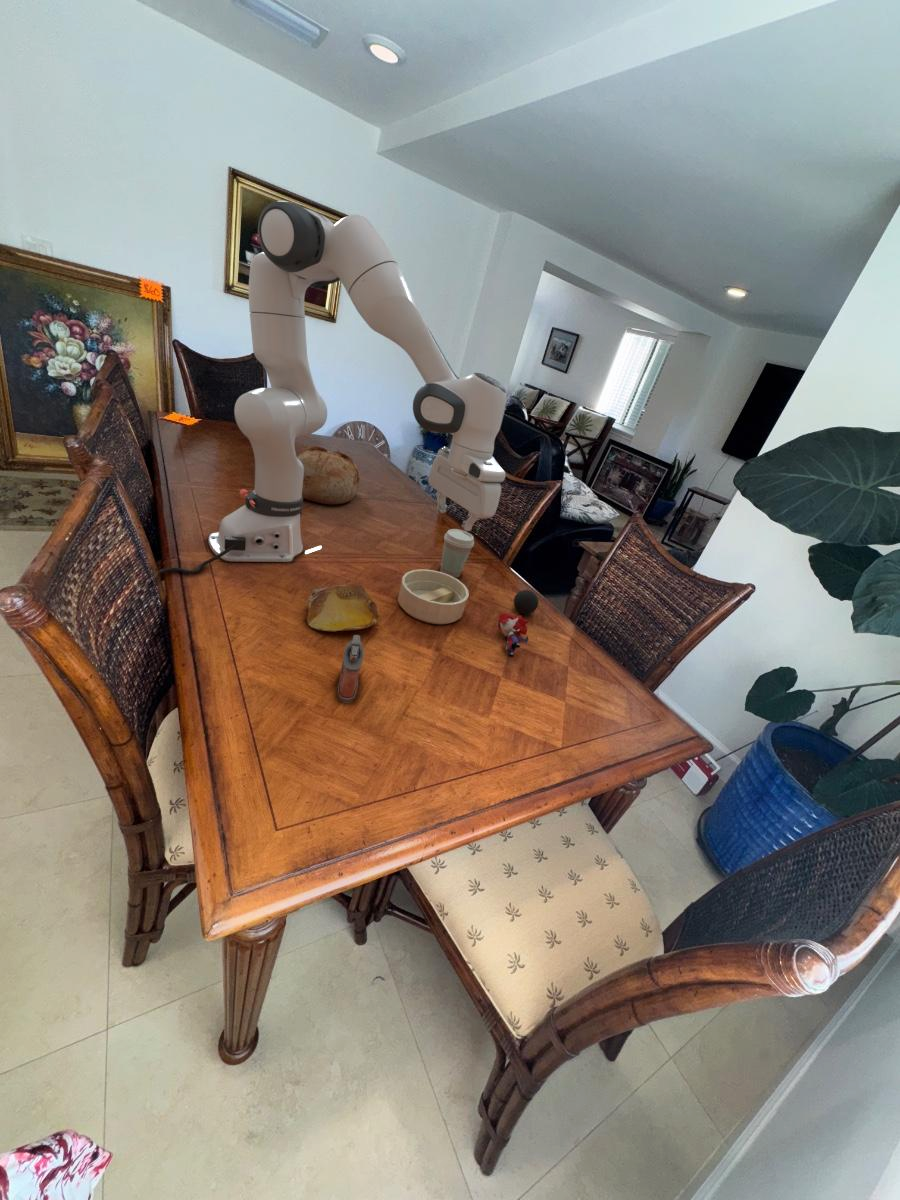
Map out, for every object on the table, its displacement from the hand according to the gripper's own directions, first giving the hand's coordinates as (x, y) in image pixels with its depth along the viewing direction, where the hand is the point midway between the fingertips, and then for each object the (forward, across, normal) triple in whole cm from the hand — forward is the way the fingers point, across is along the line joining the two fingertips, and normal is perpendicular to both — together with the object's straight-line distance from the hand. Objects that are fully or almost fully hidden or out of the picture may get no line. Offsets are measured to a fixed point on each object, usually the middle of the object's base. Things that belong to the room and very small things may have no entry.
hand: (453, 520), depth 108 cm
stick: (+22, 0, 0) cm, 22 cm away
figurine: (+23, +19, +10) cm, 32 cm away
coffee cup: (+23, -14, +17) cm, 32 cm away
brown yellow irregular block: (+23, -2, -23) cm, 33 cm away
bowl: (+23, 0, 0) cm, 23 cm away
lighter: (+23, +19, -32) cm, 44 cm away
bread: (+23, -74, +5) cm, 78 cm away
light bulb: (+23, +8, +25) cm, 35 cm away
